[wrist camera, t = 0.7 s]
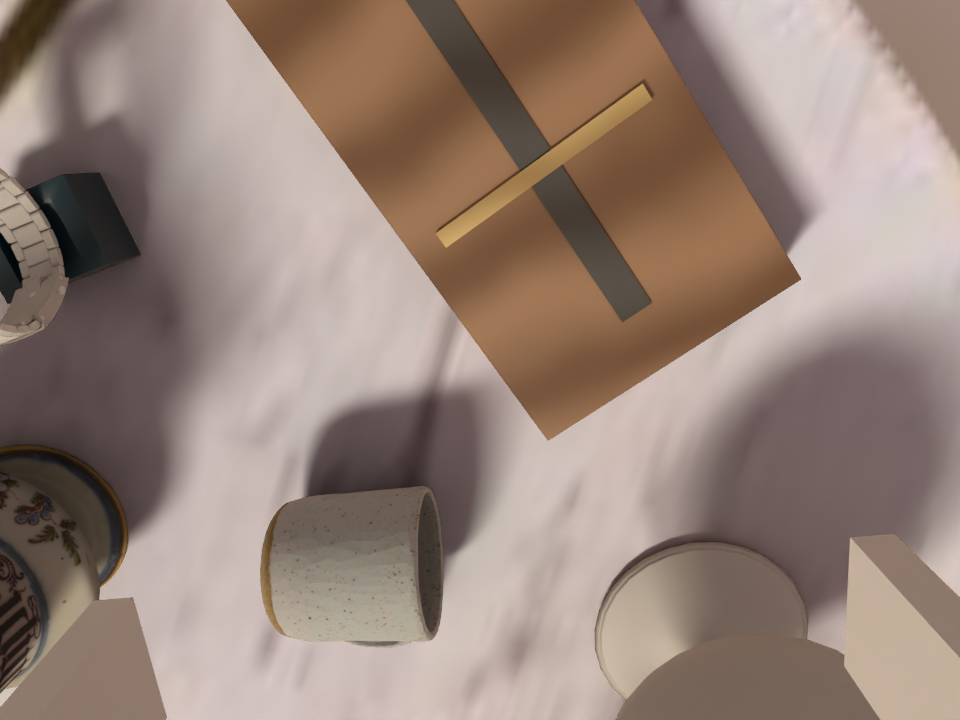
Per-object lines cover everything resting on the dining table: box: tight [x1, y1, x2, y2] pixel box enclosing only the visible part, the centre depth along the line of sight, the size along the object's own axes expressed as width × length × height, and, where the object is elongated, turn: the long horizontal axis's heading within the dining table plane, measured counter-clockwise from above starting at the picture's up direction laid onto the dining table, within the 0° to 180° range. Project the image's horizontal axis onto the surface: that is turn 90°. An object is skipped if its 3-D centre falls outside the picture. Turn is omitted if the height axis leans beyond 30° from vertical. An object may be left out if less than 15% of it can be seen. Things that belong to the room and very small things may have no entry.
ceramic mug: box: [260, 486, 444, 648], centre depth 37 cm, size 11×8×8 cm
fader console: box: [226, 0, 801, 440], centre depth 32 cm, size 32×14×3 cm, turn 35°
